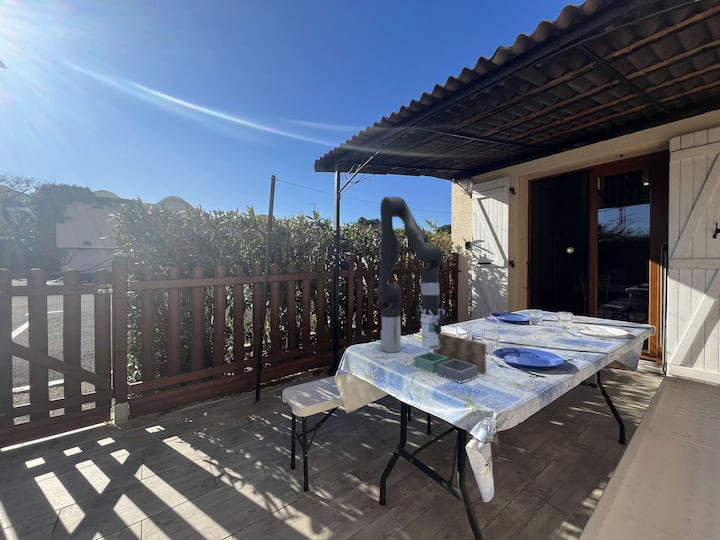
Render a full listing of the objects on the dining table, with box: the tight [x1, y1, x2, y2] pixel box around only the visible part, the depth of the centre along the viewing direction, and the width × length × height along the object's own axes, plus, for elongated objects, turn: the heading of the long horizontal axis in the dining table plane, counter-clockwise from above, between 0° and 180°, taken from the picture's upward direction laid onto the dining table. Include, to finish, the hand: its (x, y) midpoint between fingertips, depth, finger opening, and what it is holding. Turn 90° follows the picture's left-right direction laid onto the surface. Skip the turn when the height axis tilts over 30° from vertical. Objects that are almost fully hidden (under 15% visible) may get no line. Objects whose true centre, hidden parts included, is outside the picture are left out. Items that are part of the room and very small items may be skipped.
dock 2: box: [436, 359, 479, 382], centre depth 122 cm, size 11×11×4 cm
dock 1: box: [413, 351, 448, 373], centre depth 132 cm, size 10×10×4 cm
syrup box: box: [421, 314, 440, 351], centre depth 132 cm, size 6×6×14 cm
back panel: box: [432, 332, 487, 375], centre depth 133 cm, size 25×2×12 cm, turn 37°
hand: (430, 331), depth 132 cm, fingers closed on syrup box, 7 cm apart
